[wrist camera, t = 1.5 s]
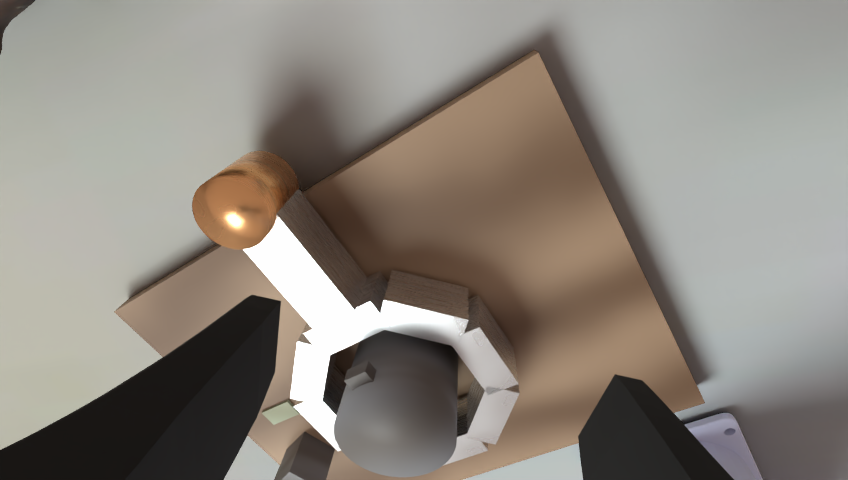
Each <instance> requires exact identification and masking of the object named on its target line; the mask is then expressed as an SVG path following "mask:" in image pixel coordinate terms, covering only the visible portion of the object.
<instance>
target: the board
mask: <svg viewBox="0 0 848 480" xmlns="http://www.w3.org/2000/svg"><path fill="white" fill-rule="evenodd" d="M302 194H303V195H304V196H305V197H306V199H307V200H308V201H309V203H310V204H311V205H312V206H313V208H314V209H315V210H316V212H317V213H318V214H319V216H320V217H321V218H322V219H323V221H324V222H325V223H326V225H327V226H328V227H329V229H330V230H331V231H332V232H333V234H334V235H335V236H336V238H337V239H338V240H339V241H340V243H341V244H342V245H343V247H344V248H345V249H346V251H347V252H348V253H349V254H350V256H351V257H352V258H353V260H354V261H355V262H356V263H357V265H358V266H359V267H360V269H361V270H362V271H363V273H364V274H365V275H366V276H367V277H369V276H371V275H373V274H375V273H377V272H379V271H380V272H381V273H382V275H383V276H384V277H385V279H386V280H387V281H388V282H389V279H390V275H391V271H392V270H396V271H400V272H404V273H408V274H412V275H417V276H421V277H425V278H429V279H433V280H437V281H442V282H446V283H450V284H454V285H458V286H462V287H467V288H468V299H469V298H471V297H473V296H476V295H479V297H480V298H481V300H482V301H483V303H484V304H485V306H486V307H487V309H488V310H489V312H490V313H491V315H492V316H493V318H494V319H495V321H496V322H497V324H498V325H499V327H500V328H501V330H502V331H503V333H504V334H505V336H506V337H507V339H508V340H509V342H510V343H511V345H512V346H513V348H514V355H515V362H516V369H517V376H518V383H519V384H518V386H519V393H520V394H519V396H518V398H517V400H516V402H515V404H514V406H513V409H512V411H511V413H510V415H509V417H508V419H507V421H506V424H505V426H504V428H503V430H502V432H501V434H500V436H499V439H498V441H497V443H496V445H495V444H490V443H488V451H485V452H482V453H479V454H476V455H473V456H470V457H467V458H464V459H461V460H458V461H455V462H452V463H449V464H446V465H444V464H445V463H446V462H447V461H449V459H450V458H451V457H452V455H453V453H454V451H455V448H456V442H457V399H460V398H462V397H465V396H467V394H468V392H469V389H470V387H471V384H472V382H473V379H474V375H473V374H472V372H471V371H470V370H469V368H468V367H467V366H466V364H465V363H464V362H463V360H462V359H461V358H460V356H459V355H458V353H457V352H456V351H455V349H454V348H453V347H452V346H451V345H447V344H443V343H439V342H434V341H430V340H426V339H421V338H417V337H413V336H409V335H404V334H400V333H396V332H392V331H387V330H383V331H381V332H379V333H377V334H374V335H372V336H370V337H368V338H366V339H363V340H361V341H359V342H357V343H355V344H353V345H350V346H348V347H346V348H344V349H342V350H340V351H337V355H336V361H335V366H336V367H337V368H338V369H339V370H340V372H341V373H342V374H343V375H344V376H345V379H344V382H345V383H346V387H345V390H344V393H343V396H342V399H341V403H340V406H339V409H338V412H337V416H336V419H335V422H334V436H335V440H336V442H337V444H338V446H339V448H340V449H341V451H337V450H336V449H335V448H334V447H333V446H332V445H331V444H330V443H329V442H328V441H327V440H326V439H325V438H324V437H323V436H322V435H321V434H320V433H319V432H318V431H317V430H316V429H315V428H314V427H313V426H312V425H311V424H310V423H309V422H308V421H307V420H306V419H305V418H304V416H303V415H302V414H301V413H300V412H299V411H298V410H297V409H296V408H295V407H294V405H295V403H296V400H297V399H292V398H290V396H291V388H292V380H293V372H294V364H295V356H296V348H297V341H298V339H299V337H300V335H301V333H302V331H303V329H304V327H305V325H306V323H307V322H306V320H305V319H304V318H303V317H302V316H301V315H300V314H299V312H298V311H297V310H296V309H295V308H294V307H293V306H292V305H291V303H290V302H289V301H288V300H287V299H286V298H285V297H284V295H283V294H282V293H281V292H280V291H279V290H278V289H277V287H276V286H275V285H274V284H273V283H272V282H271V281H270V279H269V278H268V277H267V276H266V275H265V274H264V273H263V271H262V270H261V269H260V268H259V267H258V266H257V265H256V263H255V262H254V261H253V260H252V259H251V258H250V257H249V256H248V254H247V253H246V252H245V251H244V250H237V249H230V248H227V247H224V246H221V245H219V244H218V245H216V246H214V247H213V248H211V249H209V250H208V251H206V252H205V253H203V254H201V255H200V256H198V257H196V258H195V259H193V260H192V261H190V262H188V263H187V264H185V265H183V266H182V267H180V268H179V269H177V270H175V271H174V272H172V273H170V274H169V275H167V276H166V277H164V278H162V279H161V280H159V281H157V282H156V283H154V284H153V285H151V286H149V287H148V288H146V289H144V290H143V291H141V292H140V293H138V294H136V295H135V296H133V297H131V298H130V299H128V300H127V301H126V302H125V303H123V304H122V305H121V306H120V307H119V308H118V309H117V310H116V311H114V312H115V313H116V314H117V315H118V316H119V317H120V318H121V319H122V320H123V321H125V322H126V323H127V324H128V325H129V326H130V327H131V328H132V329H133V330H134V331H135V332H136V333H138V334H139V335H140V336H141V337H142V338H143V339H144V340H145V341H146V342H147V343H148V344H149V345H151V346H152V347H153V348H154V349H155V350H156V351H157V352H158V353H159V354H160V355H161V356H162V357H164V356H166V355H167V354H168V353H170V352H171V351H173V350H174V349H176V348H177V347H179V346H180V345H182V344H183V343H184V342H186V341H187V340H189V339H190V338H192V337H193V336H195V335H196V334H198V333H199V332H200V331H202V330H203V329H204V328H206V327H207V326H209V325H210V324H211V323H213V322H214V321H216V320H217V319H218V318H220V317H221V316H222V315H224V314H225V313H226V312H228V311H229V310H230V309H232V308H233V307H234V306H236V305H237V304H238V303H240V302H241V301H243V300H244V299H245V298H247V297H249V296H250V295H256V296H261V297H265V298H270V299H274V300H279V301H281V308H280V320H279V332H278V344H277V355H276V367H275V374H274V376H273V379H272V381H271V384H270V386H269V389H268V391H267V394H266V396H265V399H264V401H263V404H262V406H261V408H260V411H259V413H258V416H257V418H256V420H255V422H254V424H253V426H252V427H251V429H250V431H249V433H248V436H249V437H250V438H251V439H252V440H253V441H254V442H255V443H256V444H258V445H259V446H260V447H261V448H262V449H263V450H264V451H265V452H266V453H267V454H268V455H269V456H271V457H272V458H273V459H274V460H275V461H276V462H277V463H278V464H279V465H280V467H279V469H278V472H277V474H276V477H275V479H274V480H463V479H466V478H469V477H472V476H475V475H478V474H482V473H485V472H488V471H491V470H494V469H497V468H501V467H504V466H507V465H510V464H513V463H516V462H520V461H523V460H526V459H529V458H532V457H535V456H539V455H542V454H545V453H548V452H551V451H554V450H558V449H561V448H564V447H567V446H570V445H573V444H577V443H579V440H578V436H579V434H580V432H581V430H582V429H583V427H584V425H585V424H586V422H587V420H588V419H589V417H590V415H591V414H592V412H593V410H594V409H595V407H596V405H597V404H598V402H599V400H600V398H601V397H602V395H603V393H604V392H605V390H606V388H607V387H608V385H609V383H610V382H611V380H612V378H613V377H614V375H615V374H616V375H621V376H625V377H630V378H634V379H639V380H642V381H644V382H645V383H646V384H647V385H648V386H649V387H650V388H651V389H652V390H653V392H654V393H655V394H656V395H657V396H658V397H659V398H660V399H661V400H662V401H663V402H664V403H665V404H666V405H667V406H668V408H669V409H670V410H671V411H672V412H673V413H675V412H678V411H681V410H684V409H687V408H690V407H694V406H697V405H700V404H703V403H705V402H704V400H703V398H702V396H701V393H700V391H699V389H698V387H697V385H696V383H695V381H694V379H693V377H692V375H691V372H690V370H689V368H688V366H687V364H686V362H685V360H684V358H683V356H682V353H681V351H680V349H679V347H678V345H677V343H676V341H675V339H674V337H673V335H672V332H671V330H670V328H669V326H668V324H667V322H666V320H665V318H664V316H663V314H662V311H661V309H660V307H659V305H658V303H657V301H656V299H655V297H654V295H653V292H652V290H651V288H650V286H649V284H648V282H647V280H646V278H645V276H644V274H643V271H642V269H641V267H640V265H639V263H638V261H637V259H636V257H635V255H634V253H633V250H632V248H631V246H630V244H629V242H628V240H627V238H626V236H625V234H624V231H623V229H622V227H621V225H620V223H619V221H618V219H617V217H616V215H615V213H614V210H613V208H612V206H611V204H610V202H609V200H608V198H607V196H606V194H605V192H604V189H603V187H602V185H601V183H600V181H599V179H598V177H597V175H596V173H595V170H594V168H593V166H592V164H591V162H590V160H589V158H588V156H587V154H586V152H585V149H584V147H583V145H582V143H581V141H580V139H579V137H578V135H577V133H576V131H575V128H574V126H573V124H572V122H571V120H570V118H569V116H568V114H567V112H566V109H565V107H564V105H563V103H562V101H561V99H560V97H559V95H558V93H557V91H556V88H555V86H554V84H553V82H552V80H551V78H550V76H549V74H548V72H547V70H546V67H545V65H544V63H543V61H542V59H541V57H540V55H539V53H538V52H537V51H535V50H533V51H532V52H530V53H528V54H527V55H525V56H523V57H522V58H520V59H519V60H517V61H515V62H514V63H512V64H510V65H509V66H507V67H506V68H504V69H502V70H501V71H499V72H497V73H496V74H494V75H493V76H491V77H489V78H488V79H486V80H484V81H483V82H481V83H480V84H478V85H476V86H475V87H473V88H471V89H470V90H468V91H467V92H465V93H463V94H462V95H460V96H458V97H457V98H455V99H454V100H452V101H450V102H449V103H447V104H445V105H444V106H442V107H440V108H439V109H437V110H436V111H434V112H432V113H431V114H429V115H427V116H426V117H424V118H423V119H421V120H419V121H418V122H416V123H414V124H413V125H411V126H410V127H408V128H406V129H405V130H403V131H401V132H400V133H398V134H397V135H395V136H393V137H392V138H390V139H388V140H387V141H385V142H384V143H382V144H380V145H379V146H377V147H375V148H374V149H372V150H371V151H369V152H367V153H366V154H364V155H362V156H361V157H359V158H358V159H356V160H354V161H353V162H351V163H349V164H348V165H346V166H345V167H343V168H341V169H340V170H338V171H336V172H335V173H333V174H331V175H330V176H328V177H327V178H325V179H323V180H322V181H320V182H318V183H317V184H315V185H314V186H312V187H310V188H309V189H307V190H305V191H304V192H302Z"/></svg>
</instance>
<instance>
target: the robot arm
mask: <svg viewBox="0 0 848 480" xmlns="http://www.w3.org/2000/svg"><path fill="white" fill-rule="evenodd" d="M280 308H281V301H279V300H274V299H270V298H265V297H261V296H256V295H250V296H249V297H247V298H245V299H244V300H243V301H241V302H240V303H238V304H237V305H236V306H234V307H233V308H232V309H230V310H229V311H228V312H226V313H225V314H224V315H222V316H221V317H220V318H218V319H217V320H216V321H214V322H213V323H211V324H210V325H209V326H207V327H206V328H204V329H203V330H202V331H200V332H199V333H198V334H196V335H195V336H193V337H192V338H190V339H189V340H187V341H186V342H184V343H183V344H182V345H180V346H179V347H177V348H176V349H174V350H173V351H171V352H170V353H168V354H167V355H166V356H164V357H163V358H161V359H160V360H158V361H157V362H155V363H154V364H152V365H150V366H149V367H147V368H146V369H144V370H142V371H141V372H139V373H138V374H136V375H134V376H133V377H131V378H130V379H128V380H126V381H125V382H123V383H122V384H120V385H118V386H117V387H115V388H114V389H112V390H110V391H109V392H107V393H105V394H104V395H102V396H100V397H99V398H97V399H95V400H93V401H92V402H90V403H88V404H87V405H85V406H83V407H81V408H80V409H78V410H76V411H74V412H72V413H71V414H69V415H67V416H65V417H63V418H61V419H60V420H58V421H56V422H54V423H52V424H50V425H48V426H47V427H45V428H43V429H41V430H39V431H37V432H35V433H33V434H32V435H30V436H28V437H26V438H24V439H22V440H20V441H18V442H16V443H14V444H12V445H10V446H8V447H6V448H4V449H2V450H0V480H224V478H225V476H226V474H227V472H228V470H229V469H230V467H231V465H232V463H233V461H234V459H235V457H236V456H237V454H238V452H239V450H240V448H241V446H242V444H243V442H244V441H245V439H246V437H247V435H248V433H249V431H250V429H251V427H252V426H253V424H254V422H255V420H256V418H257V416H258V413H259V411H260V408H261V406H262V404H263V401H264V399H265V396H266V394H267V391H268V389H269V386H270V384H271V381H272V379H273V376H274V374H275V367H276V355H277V344H278V332H279V320H280ZM578 440H579V449H580V458H581V466H582V473H583V480H763V479H762V476H761V474H760V472H759V470H758V467H757V465H756V463H755V461H754V458H753V456H752V454H751V452H750V449H749V447H748V445H747V443H746V440H745V438H744V436H743V434H742V431H741V429H740V427H739V425H738V422H737V421H736V419H735V418H734V416H733V415H732V414H730V413H720V414H717V415H714V416H710V417H707V418H704V419H701V420H697V421H694V422H691V423H687V424H683V423H682V422H681V421H680V420H679V419H678V417H677V416H676V415H675V414H674V413H673V412H672V411H671V410H670V409H669V408H668V406H667V405H666V404H665V403H664V402H663V401H662V400H661V399H660V398H659V397H658V396H657V395H656V394H655V393H654V392H653V390H652V389H651V388H650V387H649V386H648V385H647V384H646V383H645V382H644V381H642V380H639V379H634V378H630V377H625V376H621V375H616V374H615V375H614V377H613V378H612V380H611V382H610V383H609V385H608V387H607V388H606V390H605V392H604V393H603V395H602V397H601V398H600V400H599V402H598V404H597V405H596V407H595V409H594V410H593V412H592V414H591V415H590V417H589V419H588V420H587V422H586V424H585V425H584V427H583V429H582V430H581V432H580V434H579V436H578Z"/></svg>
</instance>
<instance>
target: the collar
mask: <svg viewBox="0 0 848 480" xmlns="http://www.w3.org/2000/svg"><path fill="white" fill-rule="evenodd" d="M192 209H193V214H194V217H195V220H196V222H197V224H198V226H199V227H200V229H201V230H202V231H203V232H204V233H205V234H206V235H207V236H208V237H209V238H210V239H211V240H213V241H214V242H216V243H217V244H219V245H221V246H224V247H227V248H230V249H237V250H244V251H245V252H246V253H247V254H248V256H249V257H250V258H251V259H252V260H253V261H254V262H255V263H256V265H257V266H258V267H259V268H260V269H261V270H262V271H263V273H264V274H265V275H266V276H267V277H268V278H269V279H270V281H271V282H272V283H273V284H274V285H275V286H276V287H277V289H278V290H279V291H280V292H281V293H282V294H283V295H284V297H285V298H286V299H287V300H288V301H289V302H290V303H291V305H292V306H293V307H294V308H295V309H296V310H297V311H298V312H299V314H300V315H301V316H302V317H303V318H304V319H305V320H306V322H307V323H306V325H305V327H304V329H303V331H302V333H301V335H300V337H299V339H298V341H297V348H296V356H295V364H294V372H293V380H292V388H291V396H290V398H292V399H297V400H296V403H295V405H294V407H295V408H296V409H297V410H298V411H299V412H300V413H301V414H302V415H303V416H304V418H305V419H306V420H307V421H308V422H309V423H310V424H311V425H312V426H313V427H314V428H315V429H316V430H317V431H318V432H319V433H320V434H321V435H322V436H323V437H324V438H325V439H326V440H327V441H328V442H329V443H330V444H331V445H332V446H333V447H334V448H335V449H336V450H337V451H341V449H340V448H339V446H338V444H337V442H336V440H335V436H334V422H335V419H336V416H337V412H338V409H339V406H340V403H341V399H342V396H343V393H344V390H345V387H346V383H345V382H344V379H345V376H344V375H343V374H342V373H341V372H340V370H339V369H338V368H337V367H336V366H335V361H336V355H337V351H340V350H342V349H344V348H346V347H348V346H350V345H353V344H355V343H357V342H359V341H361V340H363V339H366V338H368V337H370V336H372V335H374V334H377V333H379V332H381V331H383V330H387V331H392V332H396V333H400V334H404V335H409V336H413V337H417V338H421V339H426V340H430V341H434V342H439V343H443V344H447V345H451V346H452V347H453V348H454V349H455V351H456V352H457V353H458V355H459V356H460V358H461V359H462V360H463V362H464V363H465V364H466V366H467V367H468V368H469V370H470V371H471V372H472V374H473V375H474V379H473V382H472V384H471V387H470V389H469V392H468V394H467V396H465V397H462V398H460V399H457V442H456V448H455V451H454V453H453V455H452V457H451V458H450V459H449V461H447V462H446V463H445V464H444V465H446V464H449V463H452V462H455V461H458V460H461V459H464V458H467V457H470V456H473V455H476V454H479V453H482V452H485V451H488V443H490V444H495V445H496V443H497V441H498V439H499V436H500V434H501V432H502V430H503V428H504V426H505V424H506V421H507V419H508V417H509V415H510V413H511V411H512V409H513V406H514V404H515V402H516V400H517V398H518V396H519V394H520V393H519V386H518V384H519V383H518V376H517V369H516V362H515V355H514V348H513V346H512V345H511V343H510V342H509V340H508V339H507V337H506V336H505V334H504V333H503V331H502V330H501V328H500V327H499V325H498V324H497V322H496V321H495V319H494V318H493V316H492V315H491V313H490V312H489V310H488V309H487V307H486V306H485V304H484V303H483V301H482V300H481V298H480V297H479V295H476V296H473V297H471V298H469V299H468V288H467V287H462V286H458V285H454V284H450V283H446V282H442V281H437V280H433V279H429V278H425V277H421V276H417V275H412V274H408V273H404V272H400V271H396V270H392V271H391V275H390V279H389V282H388V281H387V280H386V279H385V277H384V276H383V275H382V273H381V272H380V271H379V272H377V273H375V274H373V275H371V276H369V277H367V276H366V275H365V274H364V273H363V271H362V270H361V269H360V267H359V266H358V265H357V263H356V262H355V261H354V260H353V258H352V257H351V256H350V254H349V253H348V252H347V251H346V249H345V248H344V247H343V245H342V244H341V243H340V241H339V240H338V239H337V238H336V236H335V235H334V234H333V232H332V231H331V230H330V229H329V227H328V226H327V225H326V223H325V222H324V221H323V219H322V218H321V217H320V216H319V214H318V213H317V212H316V210H315V209H314V208H313V206H312V205H311V204H310V203H309V201H308V200H307V199H306V197H305V196H304V195H303V194H302V192H301V191H300V190H299V185H298V180H297V177H296V175H295V173H294V171H293V169H292V168H291V167H290V165H289V164H288V163H287V162H286V161H285V160H283V159H282V158H280V157H279V156H277V155H275V154H273V153H269V152H265V151H254V152H250V153H248V154H246V155H244V156H243V157H241V158H240V159H238V160H237V161H235V162H234V163H232V164H231V165H230V166H228V167H227V168H225V169H224V170H222V171H221V172H219V173H218V174H217V175H215V176H214V177H212V178H211V179H209V180H208V181H206V182H205V183H204V184H202V185H201V186H200V187H199V188H198V189H197V191H196V192H195V195H194V197H193V202H192Z"/></svg>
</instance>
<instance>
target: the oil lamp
mask: <svg viewBox="0 0 848 480" xmlns="http://www.w3.org/2000/svg"><path fill="white" fill-rule="evenodd" d="M33 2H35V0H0V54H1V50H2V37H3V33H4V30H5V28H6V27H7V26H8V24H9V23H10V21H11V20H12V19H13V18H14V17H16V16H17V15H18V14H20V13H21V12H22V11H24V10H25V9H26V8H27V7H28V6H29V5H31V4H32V3H33Z"/></svg>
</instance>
